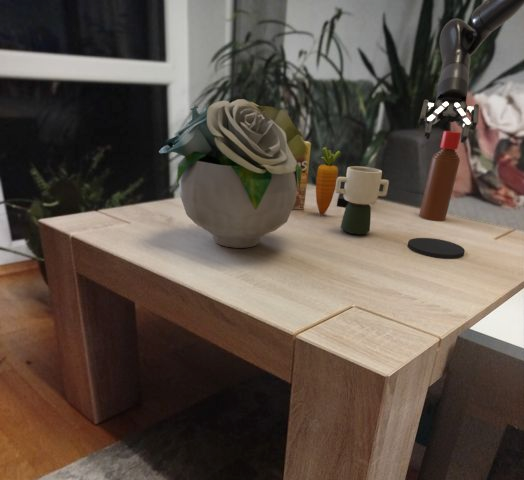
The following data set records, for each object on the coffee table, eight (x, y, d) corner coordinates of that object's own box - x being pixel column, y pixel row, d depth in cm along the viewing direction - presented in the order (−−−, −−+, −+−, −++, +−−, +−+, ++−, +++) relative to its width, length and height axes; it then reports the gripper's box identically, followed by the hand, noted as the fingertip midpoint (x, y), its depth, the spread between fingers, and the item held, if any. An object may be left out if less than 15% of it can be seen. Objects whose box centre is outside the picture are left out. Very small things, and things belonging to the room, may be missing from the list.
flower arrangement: (236, 275, 80) (245, 104, 68) (142, 236, 94) (136, 89, 82) (328, 247, 96) (348, 106, 84) (236, 218, 110) (242, 94, 99)
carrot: (335, 215, 120) (345, 148, 112) (326, 219, 116) (336, 150, 109) (317, 211, 122) (325, 145, 115) (307, 215, 118) (315, 147, 111)
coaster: (449, 242, 106) (450, 238, 106) (474, 259, 96) (475, 255, 96) (399, 240, 104) (400, 236, 104) (419, 257, 95) (420, 253, 95)
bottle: (438, 214, 129) (458, 133, 119) (449, 221, 123) (471, 136, 114) (415, 213, 128) (433, 131, 118) (425, 220, 122) (444, 134, 113)
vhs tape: (367, 198, 140) (368, 191, 139) (366, 209, 128) (367, 201, 127) (340, 195, 141) (341, 188, 140) (336, 206, 129) (338, 198, 128)
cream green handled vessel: (374, 229, 111) (386, 167, 105) (383, 238, 105) (396, 174, 98) (326, 226, 110) (334, 164, 104) (332, 236, 104) (341, 170, 97)
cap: (452, 147, 120) (456, 131, 118) (460, 150, 116) (464, 133, 114) (437, 146, 119) (440, 130, 117) (444, 148, 116) (448, 132, 114)
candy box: (268, 209, 120) (274, 140, 113) (265, 204, 124) (270, 138, 117) (304, 210, 122) (312, 142, 115) (300, 206, 126) (307, 140, 118)
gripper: (427, 73, 129) (419, 125, 124) (485, 78, 126) (479, 130, 122) (422, 96, 136) (414, 145, 132) (476, 100, 133) (470, 151, 129)
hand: (445, 138), depth 127 cm, fingers open, 8 cm apart
